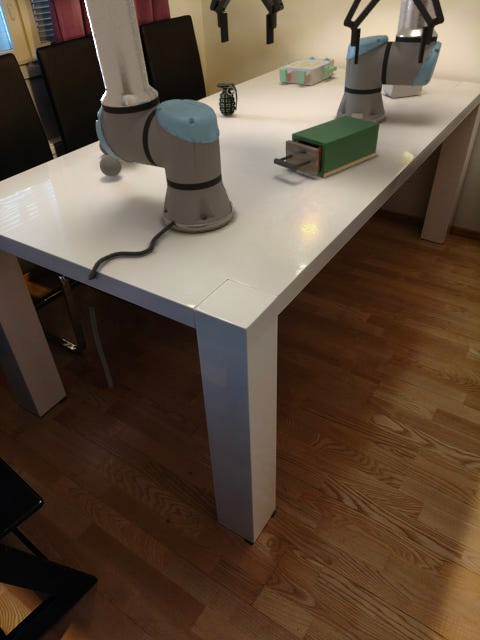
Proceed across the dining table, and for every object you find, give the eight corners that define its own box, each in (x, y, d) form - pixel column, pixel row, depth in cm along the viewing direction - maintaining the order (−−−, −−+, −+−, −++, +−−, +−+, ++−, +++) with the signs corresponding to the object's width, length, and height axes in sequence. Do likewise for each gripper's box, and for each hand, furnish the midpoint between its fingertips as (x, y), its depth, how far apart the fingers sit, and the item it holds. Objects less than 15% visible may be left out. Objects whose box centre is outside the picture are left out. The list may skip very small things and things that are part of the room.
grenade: (217, 117, 168) (214, 86, 162) (221, 112, 172) (219, 82, 166) (235, 117, 166) (233, 86, 160) (239, 113, 171) (238, 82, 165)
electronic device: (391, 98, 176) (404, -1, 158) (381, 93, 182) (392, -2, 163) (421, 94, 178) (438, -4, 160) (410, 90, 184) (425, -5, 166)
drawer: (298, 183, 117) (298, 156, 113) (269, 172, 124) (268, 146, 120) (364, 155, 130) (367, 130, 126) (335, 147, 136) (336, 123, 132)
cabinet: (323, 177, 122) (325, 143, 117) (291, 166, 129) (291, 133, 124) (375, 155, 132) (379, 123, 127) (342, 146, 139) (345, 115, 134)
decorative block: (302, 55, 216) (343, 58, 206) (301, 71, 220) (342, 74, 210) (270, 66, 200) (313, 70, 190) (270, 83, 204) (313, 88, 194)
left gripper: (298, -63, 112) (296, 41, 125) (208, -58, 123) (214, 38, 136) (284, -62, 107) (283, 46, 120) (191, -57, 118) (199, 43, 131)
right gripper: (336, -56, 93) (329, 67, 106) (475, -64, 89) (450, 65, 102) (337, -57, 99) (330, 60, 112) (468, -65, 94) (445, 58, 107)
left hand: (247, 42), depth 128 cm, fingers open, 13 cm apart
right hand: (387, 62), depth 107 cm, fingers open, 13 cm apart
